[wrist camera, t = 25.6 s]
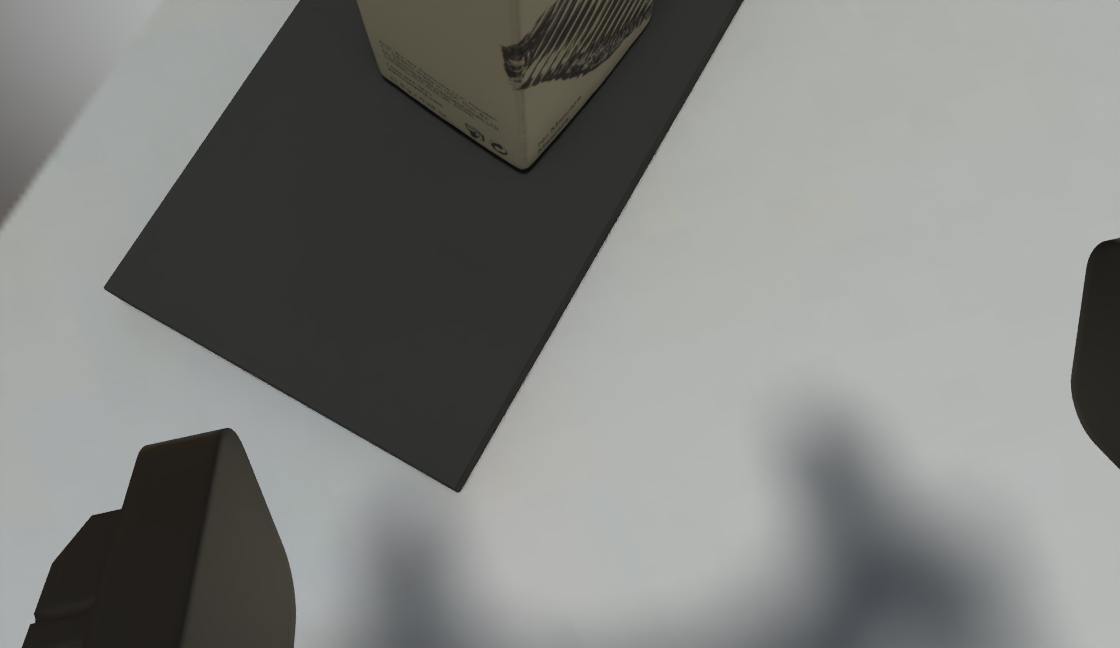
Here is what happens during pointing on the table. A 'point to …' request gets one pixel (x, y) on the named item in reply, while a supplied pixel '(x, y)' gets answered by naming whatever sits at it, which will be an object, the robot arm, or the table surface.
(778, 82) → the table surface
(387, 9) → the box
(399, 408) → the scrub mat
